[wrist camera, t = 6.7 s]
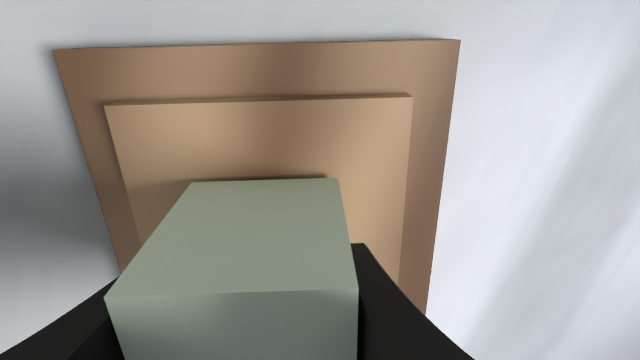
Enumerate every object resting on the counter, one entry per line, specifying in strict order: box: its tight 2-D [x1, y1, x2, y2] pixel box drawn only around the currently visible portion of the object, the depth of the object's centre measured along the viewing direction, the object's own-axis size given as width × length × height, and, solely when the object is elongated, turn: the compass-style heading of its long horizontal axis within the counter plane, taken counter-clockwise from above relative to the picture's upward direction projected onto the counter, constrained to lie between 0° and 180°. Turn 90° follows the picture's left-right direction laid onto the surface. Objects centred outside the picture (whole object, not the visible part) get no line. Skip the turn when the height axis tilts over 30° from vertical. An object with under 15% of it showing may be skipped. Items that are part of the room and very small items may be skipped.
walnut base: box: [53, 39, 461, 315], centre depth 13 cm, size 12×12×2 cm
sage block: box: [104, 178, 359, 360], centre depth 9 cm, size 4×4×5 cm
